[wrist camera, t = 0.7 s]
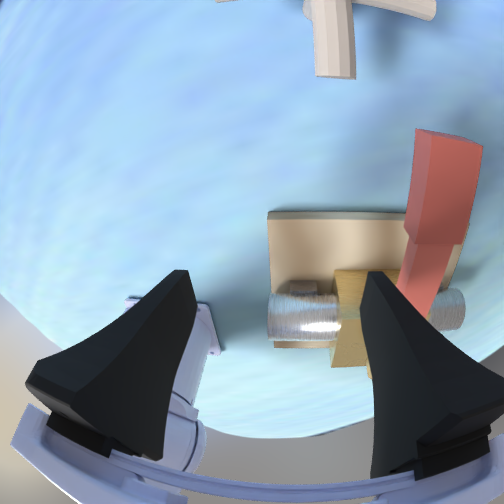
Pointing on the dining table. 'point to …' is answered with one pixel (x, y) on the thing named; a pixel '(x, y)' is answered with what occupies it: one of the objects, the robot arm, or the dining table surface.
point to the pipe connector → (348, 30)
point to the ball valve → (345, 314)
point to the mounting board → (336, 250)
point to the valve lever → (436, 212)
